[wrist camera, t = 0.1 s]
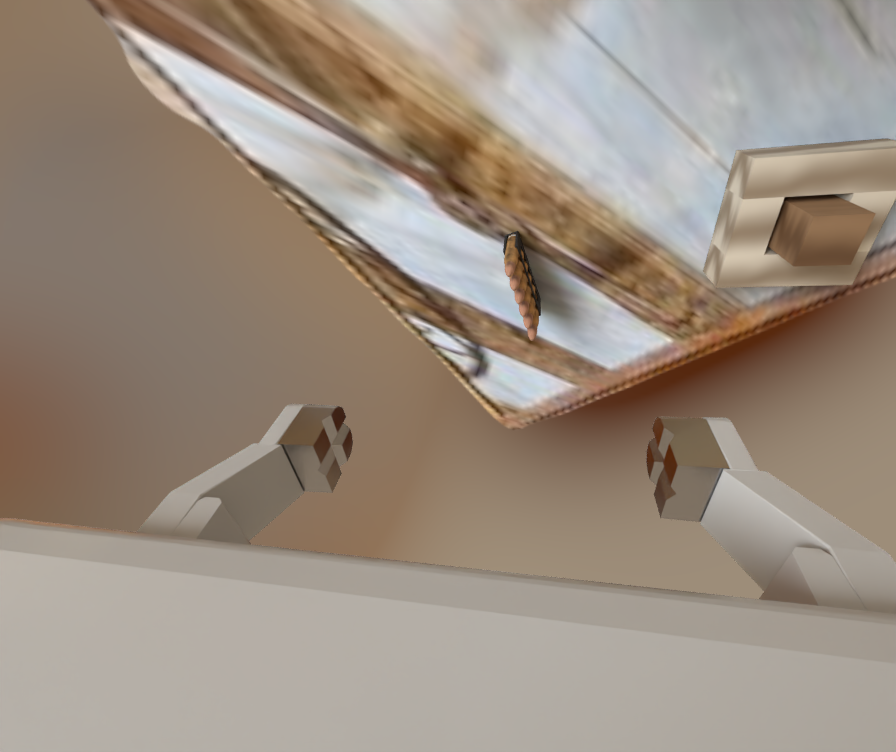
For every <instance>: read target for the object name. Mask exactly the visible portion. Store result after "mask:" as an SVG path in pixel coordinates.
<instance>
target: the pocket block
mask: <svg viewBox="0 0 896 752" xmlns="http://www.w3.org/2000/svg"><path fill="white" fill-rule="evenodd" d="M828 194H833V195H835V196H838V197H840V198H842V199H844V200H847V201H849V202H851V203H853V204H856V205H858V206H860V207H862V208H865V209H867V210H869V211H871V212H874V213H876V214H875V216H874V218H873V220H872V222H871V224H870V226H869V228H868V230H867V233H866V235H865V237H864V239H863V241H862V243H861V245H860V247H859V249H858V251H857V253H856V255H855V257H854V259H853V261H852V263H851V265H832V266H797V267H794V266H792V265H791V264H790V263H789V262H787V261H786V260H785V259H783V258H782V257H781V256H780V255H778V254H777V253H776V252H775V251H773V250H772V249H771V248H769V247H768V246H767V245H768V242H769V240H770V237H771V234H772V231H773V228H774V226H775V223H776V220H777V217H778V214H779V212H780V209H781V206H782V203H783V200H784V198H785V197H793V196H811V195H828ZM895 199H896V140H891V139H875V140H862V141H850V142H837V143H824V144H811V145H798V146H785V147H773V148H760V149H747V150H736V153H735V157H734V161H733V164H732V168H731V171H730V175H729V179H728V182H727V186H726V190H725V193H724V197H723V201H722V204H721V208H720V212H719V215H718V219H717V222H716V226H715V230H714V233H713V237H712V241H711V244H710V248H709V252H708V255H707V259H706V262H705V266H704V270H703V272H704V273H705V274H706V275H707V277H708V278H709V279H710V280H711V282H712V283H713V284H714V285H715V287H716V288H723V287H772V286H821V285H852V284H853V282H854V280H855V278H856V276H857V274H858V272H859V270H860V268H861V266H862V264H863V262H864V260H865V258H866V256H867V254H868V253H869V251H870V249H871V247H872V245H873V243H874V241H875V239H876V237H877V235H878V233H879V231H880V229H881V227H882V225H883V223H884V221H885V219H886V217H887V215H888V213H889V211H890V209H891V207H892V205H893V203H894V201H895Z"/></svg>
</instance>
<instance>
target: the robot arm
mask: <svg viewBox="0 0 896 752" xmlns="http://www.w3.org/2000/svg"><path fill="white" fill-rule="evenodd" d="M345 418H346V415H345V413H344V410H343V408H342V407H339V406H329V405H312V404H307V405H305V404H290V405H288V406H286V407H285V408H284V410H283V411H282V413H281V414H280V415H279V417H278V418H277V419H276V421H275V422H274V423H273V425H272V426H271V428H270V429H269V430H268V432H267V433H266V434H265V436H264V437H263V439H262V440H261V441H260V442H259V444H252V445H250V446H249V447H247V448H245V449H243V450H242V451H240V452H238V453H237V454H235V455H233V456H231V457H230V458H228V459H226V460H225V461H223V462H221V463H219V464H218V465H216V466H214V467H213V468H211V469H209V470H207V471H206V472H204V473H202V474H201V475H199V476H197V477H196V478H194V479H192V480H190V481H189V482H187V483H185V484H184V485H182V486H180V487H178V488H177V489H175V490H173V491H172V492H170V493H169V494H168V495H167V497H166V498H165V499H164V500H163V501H162V503H161V504H160V505H159V506H158V507H157V509H155V511H154V512H153V513H152V514H151V515H150V517H149V518H148V519H147V520H146V521H145V522H144V524H143V525H142V526H141V527H140V528H139V529H138V531H137V532H131V531H120V530H112V529H103V528H93V527H83V526H74V525H65V524H56V523H47V522H37V521H30V520H22V519H14V518H0V752H896V563H895V562H894V560H893V559H892V558H891V556H890V555H889V553H887V552H886V551H884V550H882V549H881V548H879V547H878V546H876V545H875V544H874V543H872V542H871V541H869V540H868V539H866V538H865V537H863V536H862V535H860V534H859V533H857V532H856V531H854V530H853V529H851V528H850V527H848V526H847V525H845V524H844V523H842V522H841V521H839V520H838V519H837V518H835V517H834V516H832V515H830V514H829V513H828V512H826V511H825V510H823V509H822V508H820V507H819V506H817V505H816V504H814V503H813V502H811V501H810V500H808V499H806V498H805V497H804V496H802V495H801V494H799V493H798V492H796V491H795V490H793V489H792V488H790V487H789V486H787V485H786V484H784V483H783V482H781V481H780V480H778V479H777V478H775V477H774V476H772V475H771V474H769V473H768V472H766V471H759V470H758V469H757V467H756V465H755V463H754V461H753V460H752V458H751V456H750V454H749V453H748V451H747V449H746V447H745V445H744V443H743V442H742V440H741V438H740V436H739V434H738V433H737V431H736V429H735V427H734V426H733V424H732V422H731V421H730V420H729V419H728V418H690V417H657V418H656V419H655V421H654V424H653V428H652V429H653V432H654V436H655V438H653V439H652V440H651V441H649V444H648V448H647V458H646V460H647V461H646V463H647V470H648V475H649V479H650V480H651V481H652V482H653V483H654V484H656V489H655V492H654V497H655V500H656V504H657V507H658V511H659V514H660V518H666V519H676V520H686V521H695V522H701V523H700V524H701V525H702V526H703V527H704V528H705V529H706V531H707V532H708V533H709V534H710V535H711V536H712V537H713V538H714V539H715V540H716V541H717V542H718V543H719V544H720V545H721V546H722V547H723V548H724V550H725V551H726V552H727V553H728V554H729V555H730V556H731V557H732V558H733V559H734V560H735V561H736V562H737V563H738V564H739V565H740V566H741V567H742V568H743V569H744V571H745V572H746V573H747V574H748V575H749V576H750V577H751V578H752V579H753V580H754V581H755V582H756V583H757V584H758V585H759V586H760V587H761V589H762V590H763V591H764V593H763V594H762V596H761V597H760V598H759V599H751V598H742V597H733V596H724V595H715V594H705V593H696V592H687V591H677V590H668V589H658V588H650V587H641V586H631V585H622V584H613V583H603V582H594V581H584V580H574V579H565V578H556V577H546V576H537V575H528V574H519V573H509V572H500V571H491V570H482V569H472V568H462V567H454V566H445V565H435V564H426V563H417V562H408V561H399V560H390V559H380V558H371V557H362V556H353V555H343V554H334V553H324V552H315V551H306V550H297V549H288V548H279V547H269V546H260V545H251V543H250V542H249V541H250V540H251V539H252V538H253V537H254V536H255V535H257V534H258V533H259V532H260V531H261V530H262V529H263V528H265V527H266V526H267V525H268V524H269V523H270V522H271V521H273V520H274V519H275V518H276V517H277V516H278V515H279V514H281V513H282V512H283V511H284V510H285V509H286V508H287V507H288V506H290V505H291V504H292V503H293V502H294V501H295V500H296V499H298V498H299V497H300V496H301V495H302V494H303V493H304V491H309V492H330V493H332V492H333V490H334V488H335V486H336V484H337V482H338V480H339V478H340V476H341V474H342V473H341V470H340V466H341V465H343V464H344V463H345V462H347V461H348V459H349V457H350V454H351V451H352V445H353V440H352V433H351V430H350V428H349V427H348V426H346V425H345V424H344V423H343V422H344V420H345Z"/></svg>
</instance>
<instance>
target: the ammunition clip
mask: <svg viewBox="0 0 896 752" xmlns="http://www.w3.org/2000/svg"><path fill="white" fill-rule="evenodd" d="M503 252H504V255H505V258H504V263H505V272H506V275H507V276H508V277H510V286H511V289H512V290H513V291H515V300H516V302H517V303H518V304H519V311H520V314H521V315H522V316H523V321H524V325H525V327H526V328H527V329H528V336H529V338H530V340H531V341H533V340H534V339H535V337H536V334H537V326H538V324H539V316H540V315H541V307H540V296H539V293H538V290H537V287H536V284H535V281H534V278H533V275H532V272H531V269H530V266H529V263H528V259H527V256H526V253H525V250H524V247H523V244H522V241H521V238H520V235H519V232H518V231H516V232H513V233H511V234H508V235H505V240H504V249H503Z"/></svg>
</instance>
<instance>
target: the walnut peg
mask: <svg viewBox="0 0 896 752" xmlns="http://www.w3.org/2000/svg"><path fill="white" fill-rule="evenodd" d="M875 214H876V213H874V212H871V211H869V210H867V209H865V208H862V207H860V206H858V205H856V204H853V203H851V202H849V201H847V200H844V199H842V198H840V197H838V196H835V195H833V194H828V195H811V196H793V197H785V198H784V200H783V203H782V206H781V209H780V212H779V214H778V217H777V220H776V223H775V226H774V228H773V231H772V234H771V237H770V240H769V242H768V245H767V246H768V247H769V248H771V249H772V250H773V251H775V252H776V253H777V254H778V255H780V256H781V257H782V258H783V259H785V260H786V261H787V262H789V263H790V264H791V265H792V266H794V267H797V266H832V265H851V263H852V261H853V259H854V257H855V255H856V253H857V251H858V249H859V247H860V245H861V243H862V241H863V239H864V237H865V235H866V233H867V230H868V228H869V226H870V224H871V222H872V220H873V218H874V216H875Z"/></svg>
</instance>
